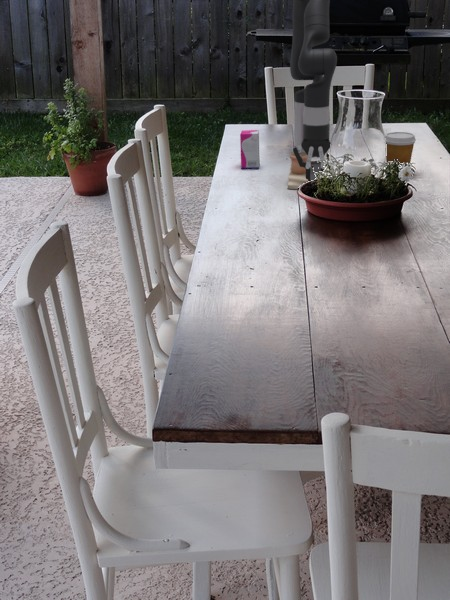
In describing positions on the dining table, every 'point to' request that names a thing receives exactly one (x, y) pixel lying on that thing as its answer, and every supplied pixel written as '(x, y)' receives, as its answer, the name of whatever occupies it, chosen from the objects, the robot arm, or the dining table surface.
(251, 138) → the supplement box
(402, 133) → the disposable coffee cup
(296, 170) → the terracotta pot
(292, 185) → the birch board
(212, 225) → the dining table surface
